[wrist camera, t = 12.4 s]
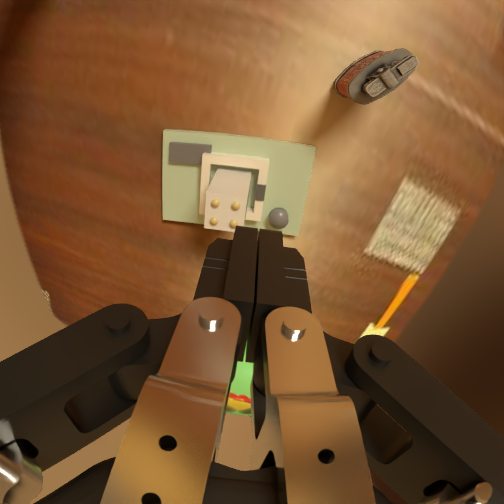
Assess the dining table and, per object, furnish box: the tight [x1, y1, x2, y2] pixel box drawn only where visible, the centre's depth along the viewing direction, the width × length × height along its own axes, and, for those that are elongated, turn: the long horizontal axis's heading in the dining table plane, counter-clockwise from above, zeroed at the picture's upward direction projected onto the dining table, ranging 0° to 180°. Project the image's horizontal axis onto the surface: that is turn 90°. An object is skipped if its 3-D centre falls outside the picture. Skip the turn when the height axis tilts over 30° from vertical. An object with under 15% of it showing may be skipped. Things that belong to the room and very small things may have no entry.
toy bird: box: [226, 342, 253, 417], centre depth 49 cm, size 18×17×15 cm
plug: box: [204, 167, 252, 232], centre depth 35 cm, size 4×4×8 cm
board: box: [162, 129, 316, 236], centre depth 38 cm, size 18×12×3 cm, turn 83°
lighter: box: [334, 48, 419, 105], centre depth 26 cm, size 8×3×10 cm, turn 132°
